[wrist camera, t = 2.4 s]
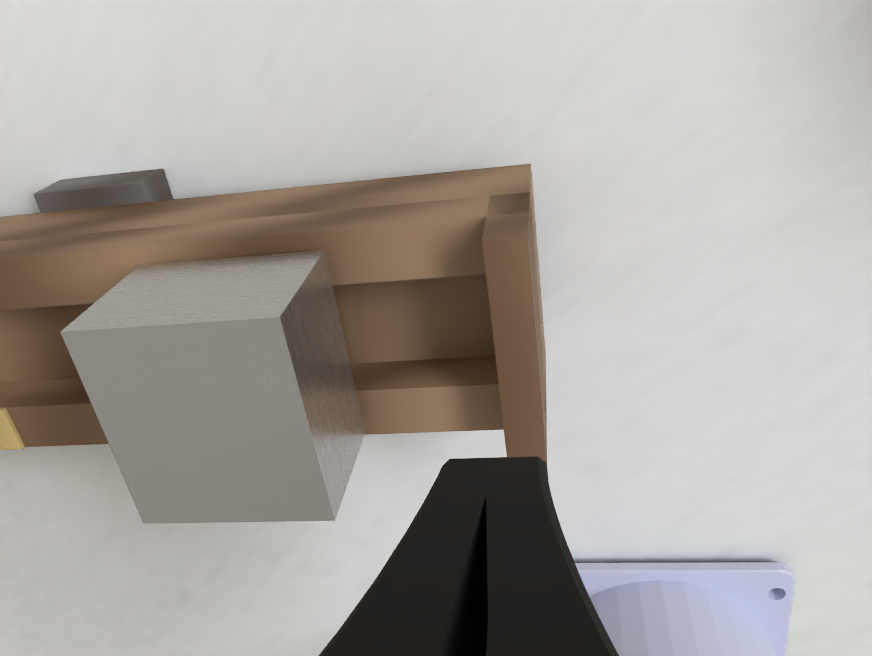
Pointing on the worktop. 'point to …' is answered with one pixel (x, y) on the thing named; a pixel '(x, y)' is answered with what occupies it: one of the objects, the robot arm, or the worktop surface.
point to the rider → (224, 388)
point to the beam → (351, 278)
